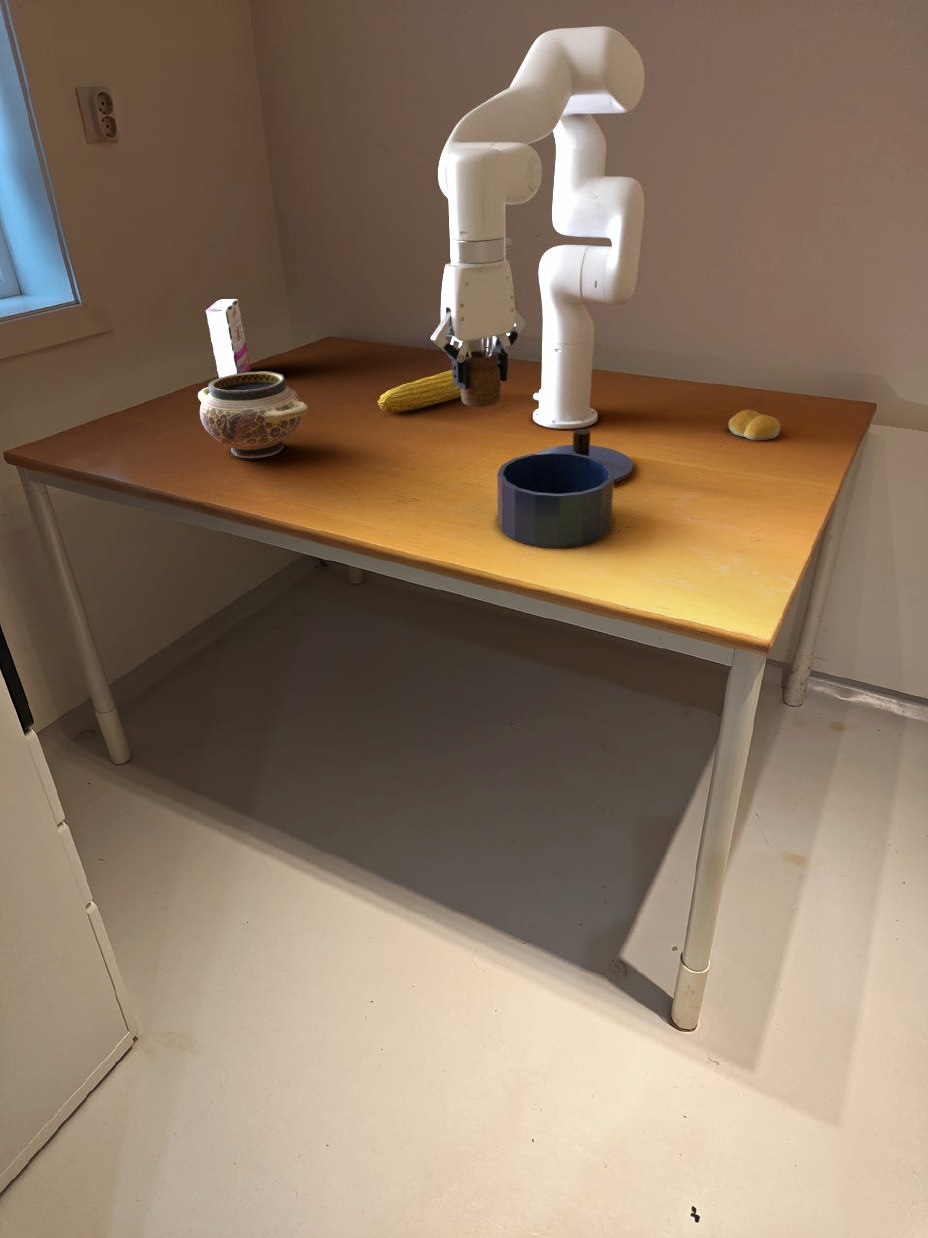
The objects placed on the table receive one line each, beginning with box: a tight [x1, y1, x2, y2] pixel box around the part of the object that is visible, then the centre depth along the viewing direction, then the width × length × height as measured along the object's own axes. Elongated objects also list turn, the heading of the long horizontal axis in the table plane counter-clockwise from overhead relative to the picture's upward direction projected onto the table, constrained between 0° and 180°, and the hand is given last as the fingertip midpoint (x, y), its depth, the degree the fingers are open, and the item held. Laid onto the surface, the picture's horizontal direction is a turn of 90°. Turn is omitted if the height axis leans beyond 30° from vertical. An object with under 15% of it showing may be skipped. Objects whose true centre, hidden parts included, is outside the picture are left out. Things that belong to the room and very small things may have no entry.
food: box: [377, 369, 461, 413], centre depth 173 cm, size 21×6×6 cm, turn 127°
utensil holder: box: [460, 337, 502, 408], centre depth 122 cm, size 6×6×12 cm
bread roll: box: [728, 409, 781, 441], centre depth 155 cm, size 8×9×4 cm
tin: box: [496, 452, 615, 549], centre depth 123 cm, size 17×17×8 cm
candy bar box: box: [205, 298, 251, 378], centre depth 193 cm, size 11×5×16 cm, turn 179°
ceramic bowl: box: [197, 370, 309, 459], centre depth 152 cm, size 24×18×15 cm
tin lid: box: [537, 428, 634, 483], centre depth 141 cm, size 18×18×7 cm
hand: (480, 381), depth 124 cm, fingers closed on utensil holder, 5 cm apart
